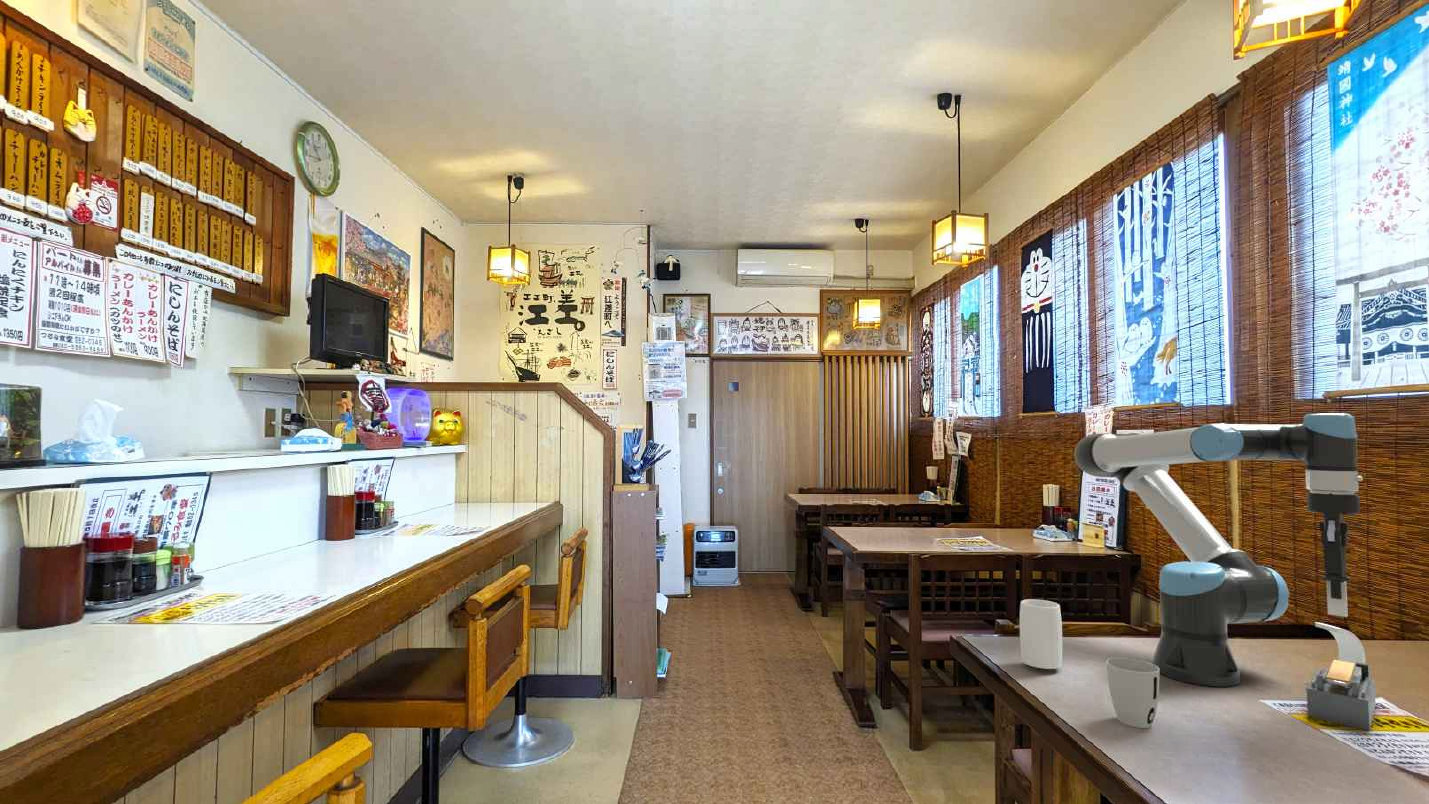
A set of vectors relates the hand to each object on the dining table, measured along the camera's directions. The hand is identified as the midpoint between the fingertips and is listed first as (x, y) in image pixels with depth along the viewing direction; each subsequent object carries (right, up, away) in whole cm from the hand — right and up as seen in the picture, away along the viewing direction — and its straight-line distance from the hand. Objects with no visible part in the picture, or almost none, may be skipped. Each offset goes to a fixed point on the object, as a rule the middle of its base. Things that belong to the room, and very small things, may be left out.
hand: (1337, 614), depth 127 cm
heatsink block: (-4, -16, -5) cm, 18 cm away
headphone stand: (+10, -18, +9) cm, 22 cm away
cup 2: (-46, -16, -10) cm, 49 cm away
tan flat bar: (-3, -10, -3) cm, 11 cm away
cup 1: (-48, -18, +18) cm, 55 cm away
